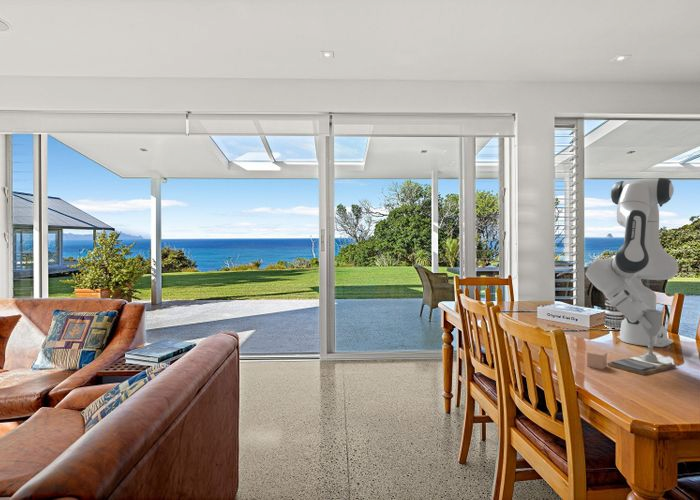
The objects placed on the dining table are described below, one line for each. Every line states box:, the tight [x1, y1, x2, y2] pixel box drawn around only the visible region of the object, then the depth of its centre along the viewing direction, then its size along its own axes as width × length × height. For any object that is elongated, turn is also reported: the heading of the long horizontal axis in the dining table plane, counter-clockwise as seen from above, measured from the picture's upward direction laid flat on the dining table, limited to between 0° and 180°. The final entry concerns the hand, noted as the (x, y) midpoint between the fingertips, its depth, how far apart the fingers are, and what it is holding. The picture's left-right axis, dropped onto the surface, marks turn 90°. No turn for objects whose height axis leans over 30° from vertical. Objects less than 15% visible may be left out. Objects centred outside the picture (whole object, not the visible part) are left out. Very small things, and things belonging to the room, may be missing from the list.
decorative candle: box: [603, 296, 625, 330], centre depth 218 cm, size 9×9×25 cm
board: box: [607, 355, 676, 376], centre depth 152 cm, size 20×12×2 cm, turn 117°
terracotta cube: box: [586, 349, 608, 370], centre depth 151 cm, size 5×5×5 cm
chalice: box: [641, 309, 665, 362], centre depth 153 cm, size 7×7×18 cm
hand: (653, 326), depth 153 cm, fingers closed on chalice, 6 cm apart
